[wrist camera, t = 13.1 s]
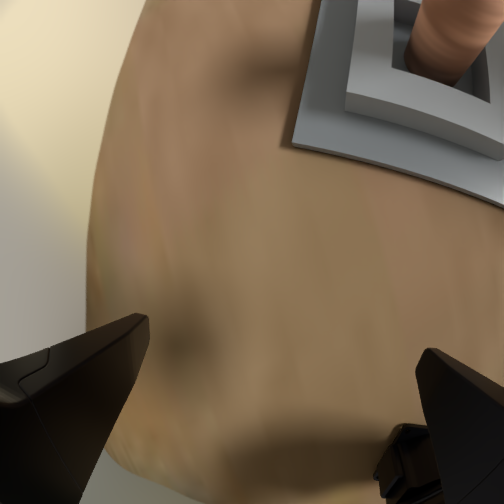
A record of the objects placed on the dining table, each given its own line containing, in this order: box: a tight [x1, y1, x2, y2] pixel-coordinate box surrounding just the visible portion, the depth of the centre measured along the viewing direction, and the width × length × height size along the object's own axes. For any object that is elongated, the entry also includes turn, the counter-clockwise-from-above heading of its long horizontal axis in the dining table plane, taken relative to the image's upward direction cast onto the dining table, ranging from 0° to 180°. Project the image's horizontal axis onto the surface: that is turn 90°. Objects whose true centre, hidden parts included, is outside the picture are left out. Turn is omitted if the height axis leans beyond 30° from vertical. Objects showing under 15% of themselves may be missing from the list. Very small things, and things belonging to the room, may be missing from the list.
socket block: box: [292, 0, 504, 208], centre depth 15 cm, size 18×18×4 cm
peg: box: [404, 0, 504, 87], centre depth 10 cm, size 4×4×13 cm
